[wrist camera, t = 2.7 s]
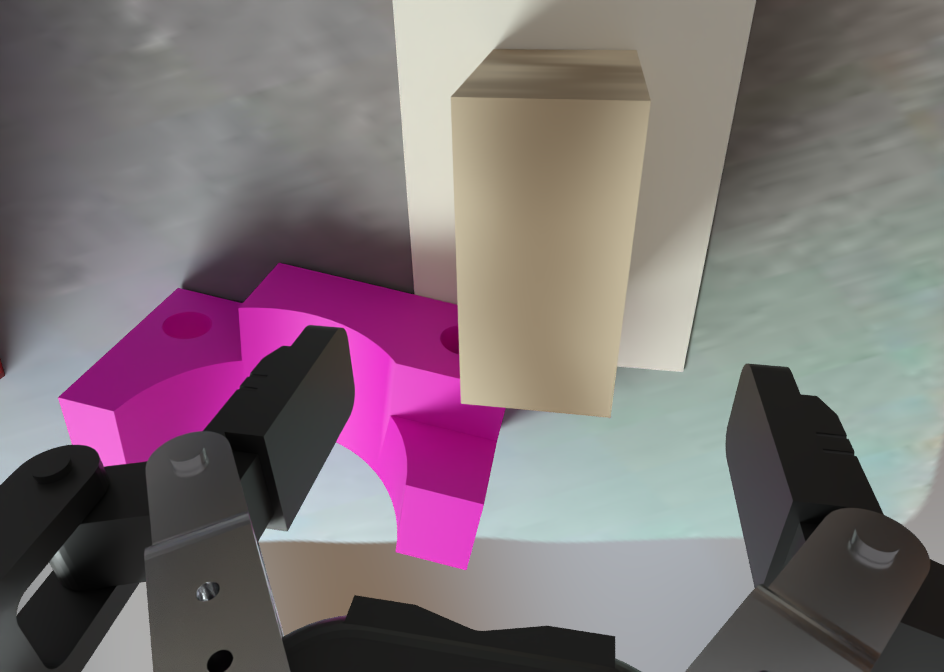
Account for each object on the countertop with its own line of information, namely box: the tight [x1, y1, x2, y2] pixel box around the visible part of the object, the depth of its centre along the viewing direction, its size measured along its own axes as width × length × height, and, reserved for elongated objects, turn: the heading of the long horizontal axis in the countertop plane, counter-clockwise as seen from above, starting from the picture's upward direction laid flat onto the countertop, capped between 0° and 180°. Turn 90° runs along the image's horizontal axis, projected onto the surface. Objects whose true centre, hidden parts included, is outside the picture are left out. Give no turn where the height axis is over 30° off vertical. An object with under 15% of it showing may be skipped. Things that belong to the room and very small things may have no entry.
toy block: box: [58, 263, 505, 570], centre depth 25 cm, size 15×6×8 cm, turn 81°
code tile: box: [393, 0, 756, 372], centre depth 23 cm, size 11×15×1 cm
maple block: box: [451, 49, 651, 418], centre depth 20 cm, size 4×9×7 cm, turn 1°
